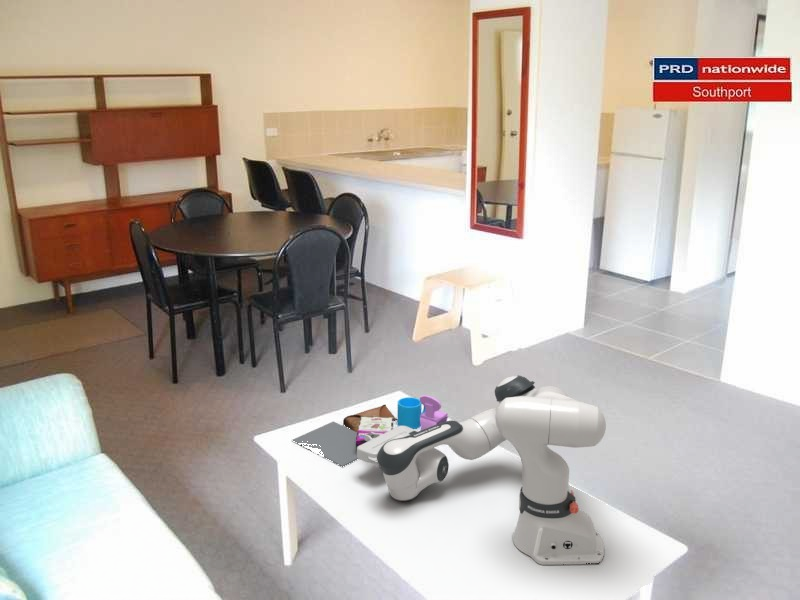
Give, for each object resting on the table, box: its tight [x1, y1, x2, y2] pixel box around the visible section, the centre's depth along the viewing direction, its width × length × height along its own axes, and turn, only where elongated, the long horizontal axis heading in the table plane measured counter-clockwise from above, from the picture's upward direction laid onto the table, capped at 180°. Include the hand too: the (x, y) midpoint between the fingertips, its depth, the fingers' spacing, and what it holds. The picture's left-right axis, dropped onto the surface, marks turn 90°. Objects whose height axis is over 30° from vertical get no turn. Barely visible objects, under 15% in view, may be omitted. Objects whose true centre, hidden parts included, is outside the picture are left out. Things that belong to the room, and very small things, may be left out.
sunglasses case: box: [342, 404, 398, 432], centre depth 241 cm, size 18×7×7 cm, turn 128°
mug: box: [397, 396, 425, 430], centre depth 240 cm, size 12×8×8 cm
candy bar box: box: [356, 417, 394, 453], centre depth 226 cm, size 11×5×16 cm
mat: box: [292, 421, 359, 468], centre depth 226 cm, size 24×18×1 cm
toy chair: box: [419, 394, 449, 431], centre depth 230 cm, size 8×9×15 cm
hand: (367, 435), depth 214 cm, fingers closed
